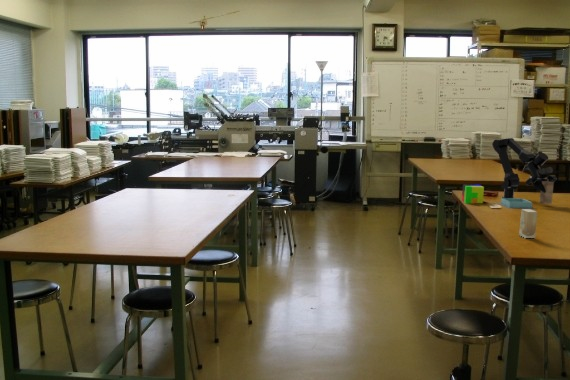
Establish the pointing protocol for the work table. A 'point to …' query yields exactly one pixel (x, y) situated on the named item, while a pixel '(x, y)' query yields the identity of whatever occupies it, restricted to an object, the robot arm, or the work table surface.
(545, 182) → the block
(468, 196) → the puzzle toy
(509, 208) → the mat
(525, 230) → the skincare box
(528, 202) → the dish
